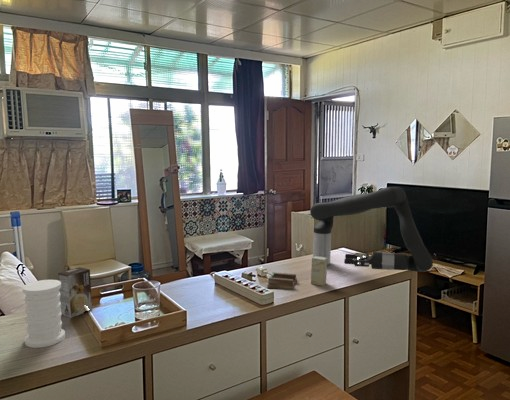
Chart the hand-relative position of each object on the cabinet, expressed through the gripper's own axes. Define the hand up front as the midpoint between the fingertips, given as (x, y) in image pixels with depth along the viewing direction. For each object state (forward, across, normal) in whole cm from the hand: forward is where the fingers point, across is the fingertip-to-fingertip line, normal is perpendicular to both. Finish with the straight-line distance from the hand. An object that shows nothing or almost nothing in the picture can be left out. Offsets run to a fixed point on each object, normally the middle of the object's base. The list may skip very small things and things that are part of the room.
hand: (344, 258), depth 181 cm
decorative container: (+91, +79, +12) cm, 121 cm away
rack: (+28, +5, +12) cm, 30 cm away
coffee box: (+96, +58, +12) cm, 112 cm away
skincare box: (+12, 0, +13) cm, 17 cm away
